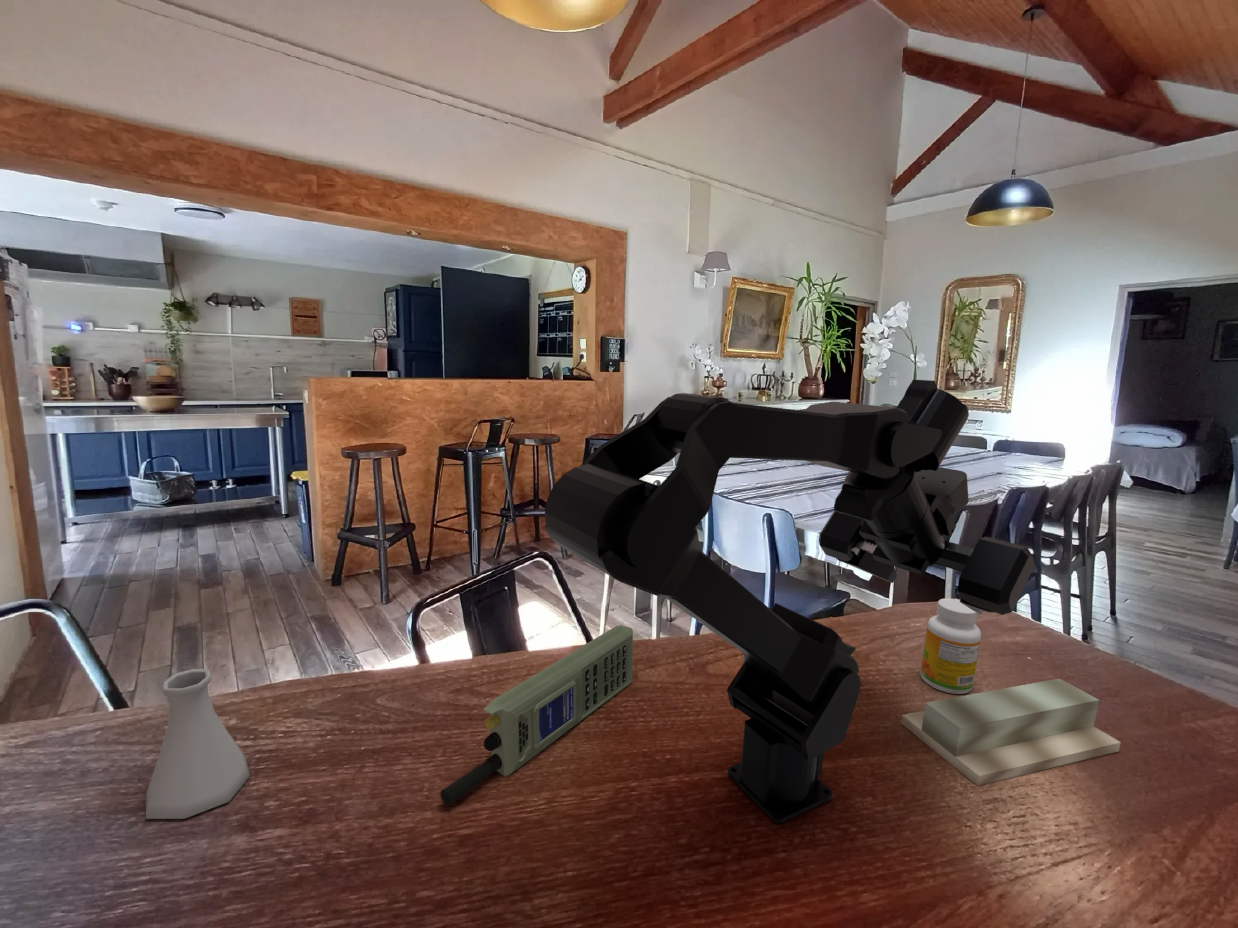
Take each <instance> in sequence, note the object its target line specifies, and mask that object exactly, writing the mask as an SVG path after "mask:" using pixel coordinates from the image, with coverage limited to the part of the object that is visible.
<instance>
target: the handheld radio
mask: <svg viewBox="0 0 1238 928" xmlns="http://www.w3.org/2000/svg"><path fill="white" fill-rule="evenodd" d="M633 638H634V631H633V628H632V627H629V626H625V625H622V624H619V625H616V626H614V627H612V628H611V629H609V630H607V631H605V632H604V633H602V634H601V635H599V636H597V637H596V638H594V639H593V640H590V641H588V642H587V643H585V644H584V645H582V646H581V647H578V648H577V649H575V650H574V651H572V652H571V653H569V654H567V655H565V656H564V657H561V658H560V659H558V660H557V661H556V662H553V663H552V664H550V665H549V666H547V667H545V668H544V669H543V668H542V670H540V671H539V672H537V673H535V674H534V675H532V676H530V677H528V678H527V679H525V680H524V681H522V682H520V683H518V684H516V685H514V687H512V688H510V689H509V690H506V691H505V692H503V693H502V694H500V695H498V696H497V697H495V698H493V699H492V700H491V701H489V704H488V705H486V706H485V707H483V709H482V711H484V712H485V713H486V714H489V717H488V718H486V719H485V721H484V726H485V728H486V729H487V730H489V731H490V734H489V735H488V736H486V737H485V739H484V740H483V748H484V749H485V750H486V751H488V752H491V753H490V755H491V756H489V757H487V758H486V759H485V761H484V762H483V763H481V764H479V765H476V766H475V767H474V768H473V769H471V770H469V771H468V772H467V773H465V774H464V775H462V776H460V777H459V778H458V779H457V780H455V781H453V782H452V783H451V784H449V785H448V786H446V787H445V788H443V789H442V790H441V791H440V799H441V801H442V803H443V804H444V805H445V806H447V807H449V806H450V805H452V804H453V803H455V802H457V800H459V799H461V798H462V797H463V796H464V795H465V794H467V793H468V792H470V791H471V790H472V789H474V788H475V787H476V786H478V785H480V783H482V782H483V781H485V780H486V779H487V778H488V776H489V775H491V774H494V773H495V772H498V773H499V774H500V775H502V776H504V777H508V776H510V775H511V774H513V773H514V772H516V771H517V770H518V769H519V768H521V767H522V766H524V765H525V764H527V763H528V761H530V760H531V759H533V758H534V757H536V755H538V754H539V753H541V752H542V751H543V750H545V749H546V748H548V747H549V746H550V745H552V743H554V742H555V741H557V740H558V739H559V738H561V736H563V735H564V734H566V733H567V732H569V731H570V730H571V729H572V728H574V727H575V726H576V725H577V724H579V723H580V722H582V721H583V720H584V719H586V718H587V717H588V716H590V715H591V714H592V713H594V712H595V711H596V710H597V709H599V708H600V707H601V706H603V705H604V704H605V703H607V702H608V701H609V700H611V699H612V698H614V697H615V696H616V695H618V694H619V693H620V692H622V691H623V690H624V689H625V688H627V687H628V686H630V684H632V683H633V664H634V663H633V661H634V660H633V657H634V656H633V651H634V650H633V648H634V646H633V645H634V639H633Z"/></svg>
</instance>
